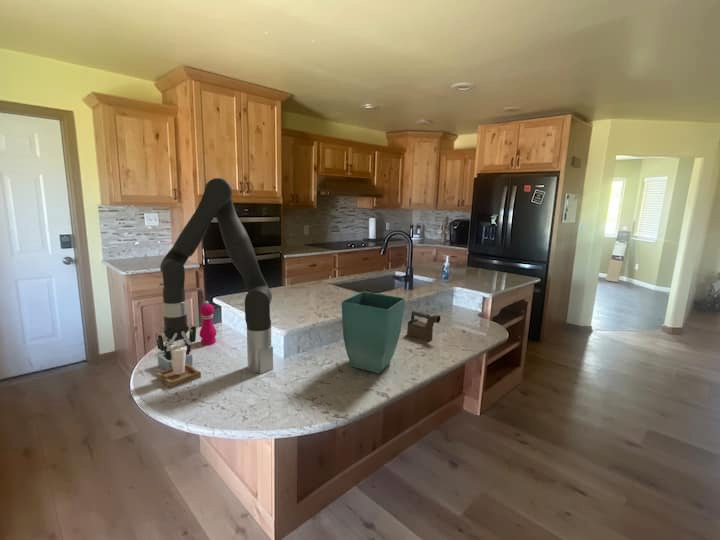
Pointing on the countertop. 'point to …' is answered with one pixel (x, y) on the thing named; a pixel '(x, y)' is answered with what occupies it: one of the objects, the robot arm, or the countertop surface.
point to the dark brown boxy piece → (422, 326)
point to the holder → (167, 364)
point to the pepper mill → (207, 325)
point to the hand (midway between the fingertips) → (178, 356)
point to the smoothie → (178, 357)
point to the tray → (178, 376)
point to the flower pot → (371, 329)
